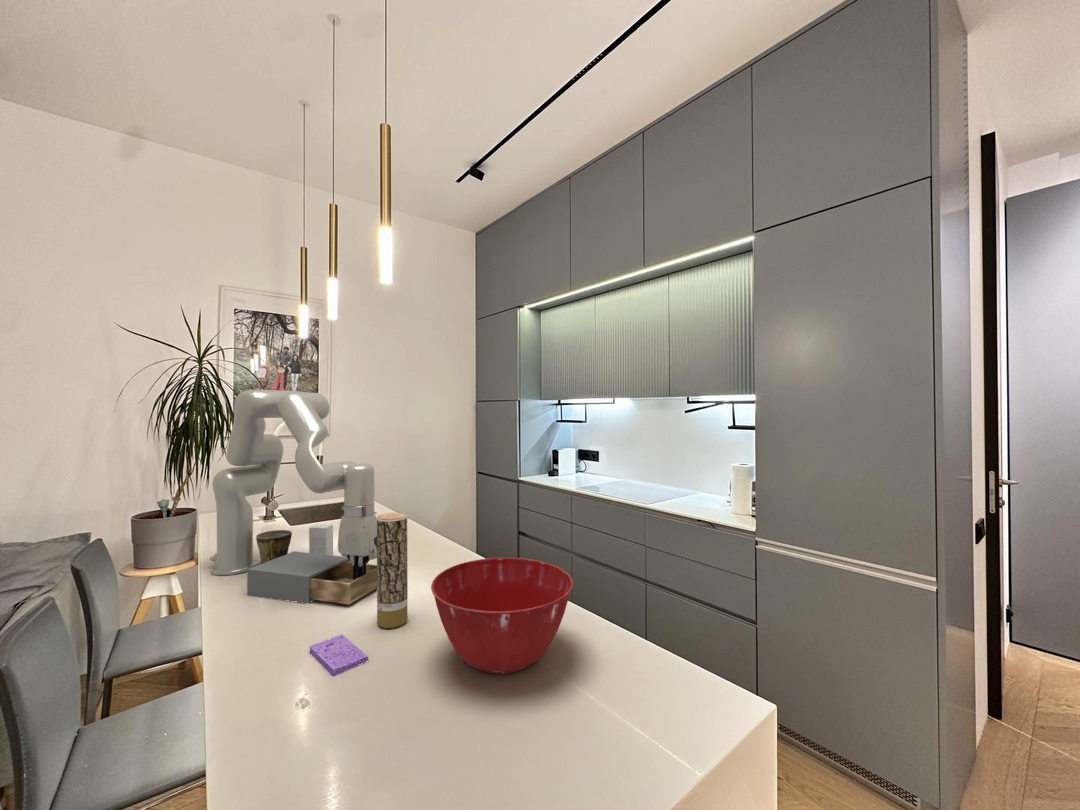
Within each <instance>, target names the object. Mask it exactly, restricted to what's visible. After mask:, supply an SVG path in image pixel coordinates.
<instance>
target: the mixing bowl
mask: <svg viewBox="0 0 1080 810" xmlns="http://www.w3.org/2000/svg"><path fill="white" fill-rule="evenodd" d="M573 587H574V581H573V578H572V577H571V575H570V574H569V573H568V572H567V571H566V570H564V569H563V568H561V567H559V566H557V565H554V564H552V563H548V562H545V561H541V560H536V559H529V558H523V557H492V558H491V557H490V558H480V559H475V560H469V561H466V562H465V561H464V562H462V563H461V562H460V563H459V564H455V565H453V566H451V567H448V568H446V569H444V570H442V571H441V572H440V573H438V574H437V575H436V576H435V577H434V578H433V580H432V582H431V584H430V590H431V592H432V596H433V597H434V601H435V604H436V608H437V611H438V614H439V618H440V621H441V624H442V627H443V629H444V631H445V633H446V635H447V637H448V640H449V642H450V643H451V645H452V647H453V648H454V650H455V652H456V654H457V655H458V656H459V657H460V659H461V660H463V661H464V662H465V663H467V664H468V665H469V666H472V667H474V668H476V669H478V670H480V671H482V672H486V673H491V674H499V675H500V674H511V673H512V674H513V673H515V672H518V671H522V670H523V669H526V668H527V667H528V666H530V665H532V664H534V663H536V662H537V661H538V660H540V659H541V658H542V657H543V656H544V655H545V654H546V652H547V651H548V649H549V648H550V646H551V644H552V642H553V640H555V637H556V635H557V633H558V631H559V628H560V626H561V623H562V621H563V618H564V615H565V612H566V610H567V609H566V608H567V605H568V602H569V598H570V593H571V591H572V589H573Z"/></svg>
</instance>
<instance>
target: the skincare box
mask: <svg viewBox="0 0 1080 810" xmlns="http://www.w3.org/2000/svg"><path fill="white" fill-rule="evenodd" d="M308 538H309V539H308V540H309V541H308V545H309V546H308V548H309V549H308V553H314V554H323V555H333V556H334V525H333V524H315V525H313V526H309V527H308Z"/></svg>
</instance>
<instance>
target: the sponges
mask: <svg viewBox="0 0 1080 810" xmlns="http://www.w3.org/2000/svg"><path fill="white" fill-rule="evenodd" d="M309 654H311V655H312V656H313V657H314V658H315V659H316V660H317V662H319V663H320V664H321V665H322V666H323V668H325V669H326V670H327V671H328V672H329V674H330V675H332V676H337V675H338V676H339V675H340V674H342V673H344V671H345V672H347V671H349V670H348V669H350V668H352V669H354V668H355V667H354V666H356V667H358V666H357V665H359V664H361V663H364V662H366V661H368V662H369V655H368V654H367V653H365V652H364V651H363V650H361V648H359V647H358V646H357V645H355V644H354V643H352V641H351V640H350V639H349V638H347V636H345V634H343V633H341V634H339V635H337V636H334V637H331V638H330V639H326V640H322V641H320V642H317V643H314V644H311V645H309ZM366 663H367V662H366ZM364 664H365V663H364ZM361 665H362V664H361ZM359 666H360V665H359ZM353 667H354V668H353ZM346 670H347V671H346ZM350 670H351V669H350Z"/></svg>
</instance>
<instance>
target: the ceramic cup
mask: <svg viewBox="0 0 1080 810" xmlns="http://www.w3.org/2000/svg"><path fill="white" fill-rule="evenodd" d="M292 535H293V532H292V531H291V530H289V529H275V530H269V531H265V532H261V533H258V534H257V535H256V536H255V539H256V544H257V545H256V546H257V549H258V553H259V558H260V561H261V563H260V564H263V563H265V562H268V561H270V560H273V559H276V558H278V557H281V556H284V555H286V554H289V553H288V552H289V547H290V544H291V540H292Z"/></svg>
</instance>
